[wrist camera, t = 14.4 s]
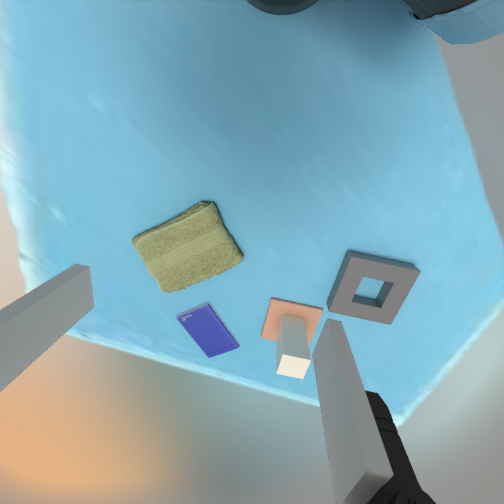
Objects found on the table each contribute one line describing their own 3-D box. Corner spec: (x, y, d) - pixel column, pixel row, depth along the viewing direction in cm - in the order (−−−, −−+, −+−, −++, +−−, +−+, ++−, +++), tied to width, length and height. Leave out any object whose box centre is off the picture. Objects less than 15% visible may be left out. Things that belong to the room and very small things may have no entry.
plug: (282, 313, 48) (282, 354, 39) (304, 318, 48) (310, 360, 39) (276, 330, 50) (276, 373, 41) (298, 335, 50) (302, 379, 41)
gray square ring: (347, 250, 42) (351, 256, 39) (413, 264, 41) (420, 271, 39) (326, 303, 46) (328, 311, 44) (385, 315, 46) (390, 324, 44)
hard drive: (175, 318, 50) (207, 358, 54) (207, 304, 48) (239, 347, 52) (178, 313, 52) (209, 353, 56) (209, 299, 50) (240, 342, 54)
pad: (271, 297, 47) (271, 299, 47) (322, 308, 47) (323, 310, 46) (261, 335, 51) (260, 337, 51) (307, 345, 51) (308, 348, 51)
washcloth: (131, 236, 45) (121, 243, 42) (212, 194, 40) (207, 199, 38) (171, 291, 50) (164, 301, 47) (248, 259, 45) (246, 268, 42)
